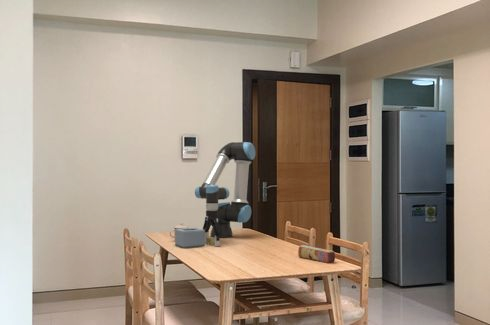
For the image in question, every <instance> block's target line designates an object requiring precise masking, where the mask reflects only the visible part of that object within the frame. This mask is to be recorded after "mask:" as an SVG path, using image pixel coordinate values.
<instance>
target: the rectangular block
mask: <svg viewBox="0 0 490 325" xmlns="http://www.w3.org/2000/svg"><path fill="white" fill-rule="evenodd" d="M205 246H215V237H211V236H209V237H207V238H206V243H205Z"/></svg>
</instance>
